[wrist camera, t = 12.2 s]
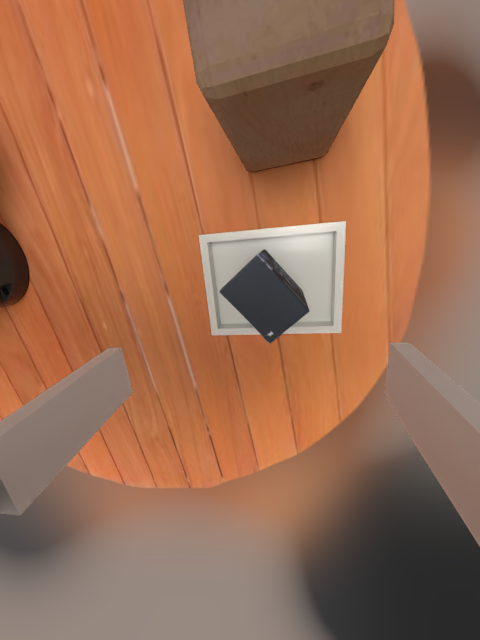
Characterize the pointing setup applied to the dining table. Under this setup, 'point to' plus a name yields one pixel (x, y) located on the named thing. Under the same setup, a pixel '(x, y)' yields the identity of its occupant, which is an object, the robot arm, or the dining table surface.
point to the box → (266, 296)
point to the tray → (296, 260)
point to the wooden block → (284, 70)
